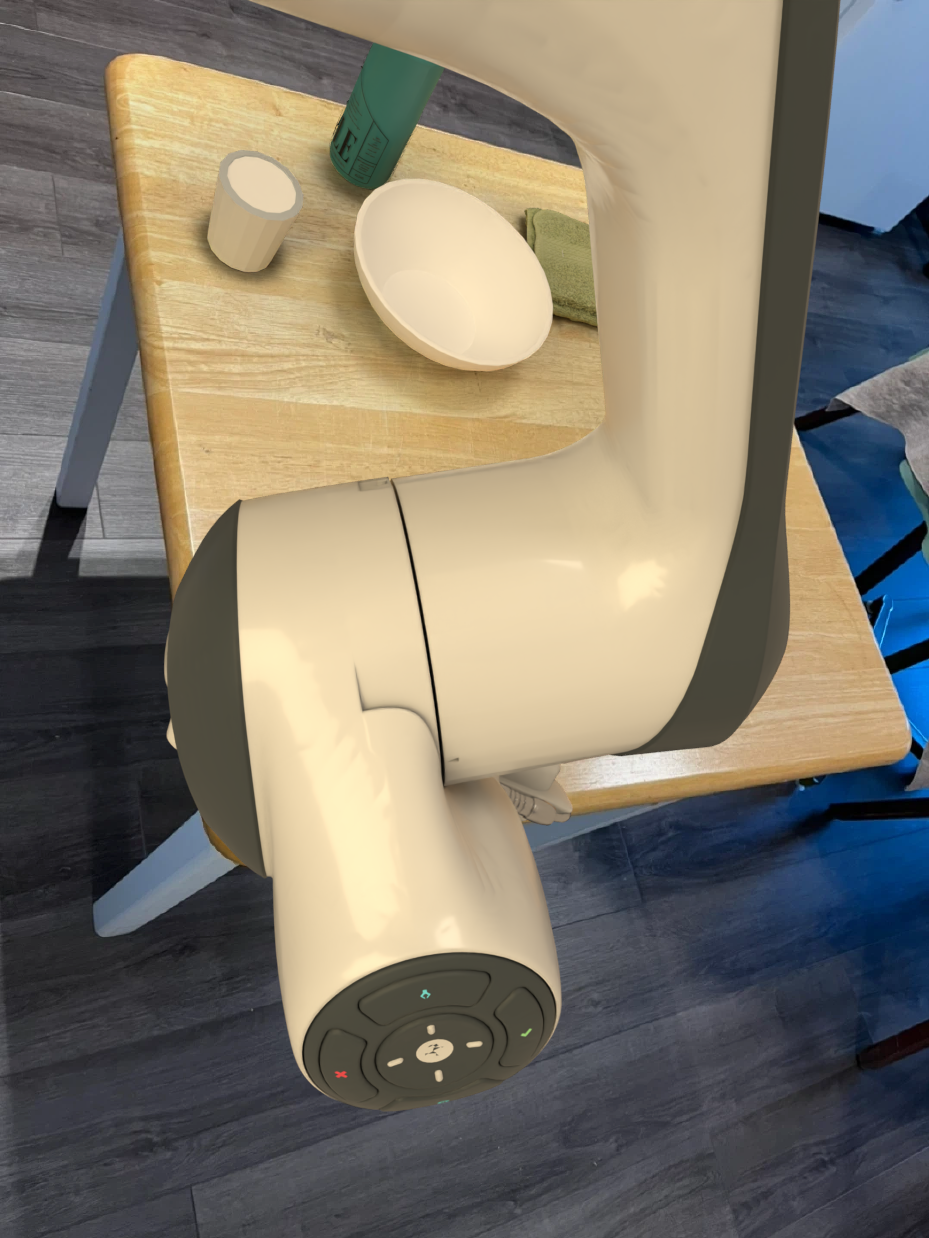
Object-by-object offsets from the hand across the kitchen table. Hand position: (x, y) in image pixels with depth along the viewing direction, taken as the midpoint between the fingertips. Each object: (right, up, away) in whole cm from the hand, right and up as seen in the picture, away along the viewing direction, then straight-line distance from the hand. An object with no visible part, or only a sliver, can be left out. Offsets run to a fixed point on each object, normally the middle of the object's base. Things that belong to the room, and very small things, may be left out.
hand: (363, 635), depth 51 cm
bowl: (+2, +29, +32) cm, 44 cm away
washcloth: (+19, +37, +46) cm, 62 cm away
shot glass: (-14, +33, +25) cm, 44 cm away
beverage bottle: (-5, +44, +34) cm, 56 cm away
